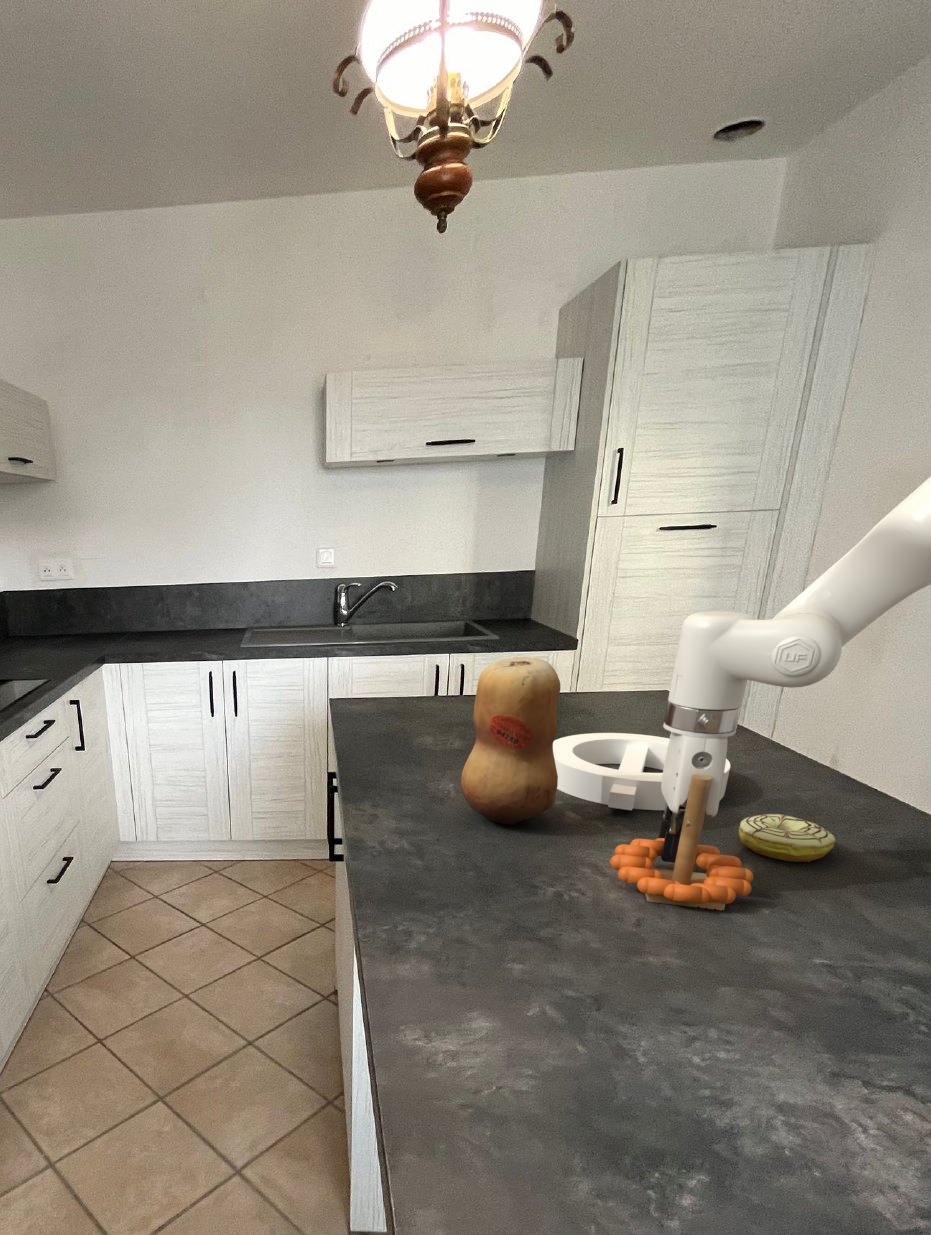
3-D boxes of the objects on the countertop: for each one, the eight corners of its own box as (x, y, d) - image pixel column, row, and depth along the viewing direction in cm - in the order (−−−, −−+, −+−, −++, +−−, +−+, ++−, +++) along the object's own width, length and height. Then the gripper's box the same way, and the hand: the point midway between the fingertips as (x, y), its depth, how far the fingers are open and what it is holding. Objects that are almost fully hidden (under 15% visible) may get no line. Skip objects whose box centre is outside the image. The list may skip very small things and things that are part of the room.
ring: (739, 856, 92) (743, 843, 91) (763, 915, 82) (768, 900, 81) (605, 842, 98) (608, 829, 97) (612, 896, 87) (615, 882, 86)
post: (709, 880, 92) (733, 768, 86) (724, 910, 85) (751, 791, 79) (638, 872, 94) (658, 763, 89) (647, 901, 87) (668, 785, 82)
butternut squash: (449, 829, 110) (461, 665, 101) (467, 800, 121) (479, 649, 112) (547, 843, 104) (569, 670, 95) (556, 811, 115) (576, 653, 106)
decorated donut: (826, 842, 101) (833, 817, 99) (832, 872, 92) (840, 845, 91) (737, 828, 106) (742, 804, 105) (735, 855, 98) (741, 830, 97)
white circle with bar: (617, 819, 111) (622, 790, 109) (512, 766, 136) (514, 741, 135) (767, 797, 117) (773, 770, 115) (639, 750, 142) (643, 727, 140)
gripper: (755, 738, 79) (720, 888, 85) (721, 704, 93) (693, 834, 99) (676, 734, 81) (648, 879, 88) (655, 701, 95) (632, 828, 102)
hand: (672, 854), depth 94 cm, fingers closed on ring, 2 cm apart
